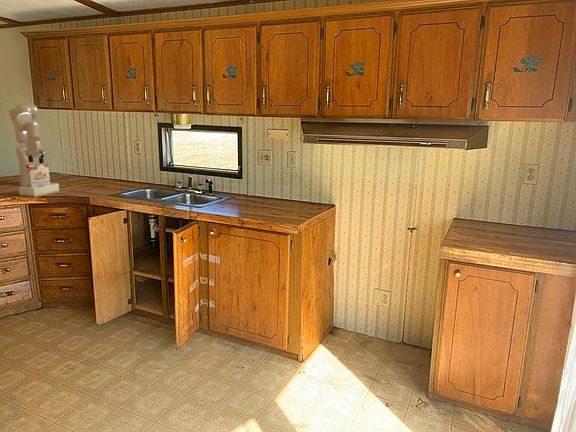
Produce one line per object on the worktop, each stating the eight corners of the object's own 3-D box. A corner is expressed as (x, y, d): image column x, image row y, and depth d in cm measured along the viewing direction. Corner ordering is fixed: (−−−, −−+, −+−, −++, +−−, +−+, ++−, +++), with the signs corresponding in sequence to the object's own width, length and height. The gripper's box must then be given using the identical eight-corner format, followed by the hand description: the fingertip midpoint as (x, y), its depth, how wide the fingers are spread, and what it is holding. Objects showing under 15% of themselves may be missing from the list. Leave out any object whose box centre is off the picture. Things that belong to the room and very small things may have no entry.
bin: (19, 195, 312) (18, 186, 310) (45, 189, 332) (44, 182, 331) (34, 196, 308) (33, 188, 306) (59, 191, 328) (58, 183, 326)
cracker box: (32, 193, 312) (29, 165, 307) (27, 192, 315) (24, 164, 310) (51, 190, 324) (48, 163, 319) (46, 189, 327) (43, 162, 322)
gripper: (19, 138, 309) (22, 162, 314) (38, 140, 304) (41, 164, 309) (28, 137, 316) (31, 161, 321) (47, 139, 311) (49, 163, 315)
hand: (36, 162), depth 315 cm, fingers open, 9 cm apart
